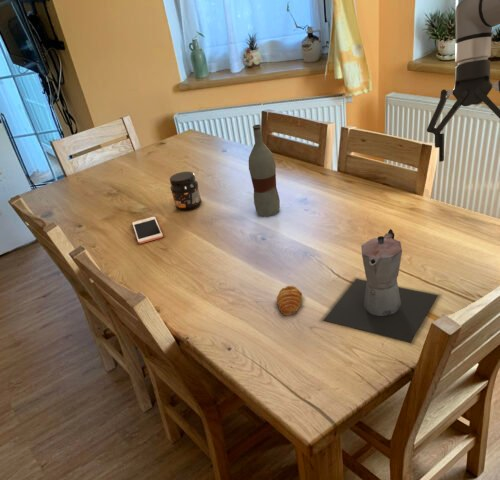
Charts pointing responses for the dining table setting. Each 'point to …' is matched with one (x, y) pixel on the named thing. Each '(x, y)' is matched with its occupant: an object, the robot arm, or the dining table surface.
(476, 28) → the robot arm
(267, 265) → the dining table surface
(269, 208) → the bottle
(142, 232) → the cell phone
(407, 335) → the mat
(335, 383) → the dining table surface
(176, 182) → the supplement container
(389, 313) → the moka pot
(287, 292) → the pastry
